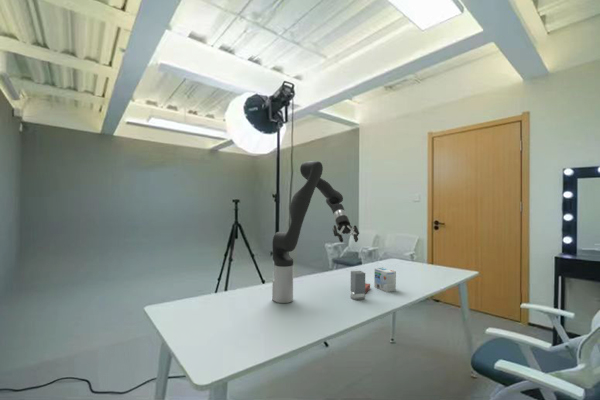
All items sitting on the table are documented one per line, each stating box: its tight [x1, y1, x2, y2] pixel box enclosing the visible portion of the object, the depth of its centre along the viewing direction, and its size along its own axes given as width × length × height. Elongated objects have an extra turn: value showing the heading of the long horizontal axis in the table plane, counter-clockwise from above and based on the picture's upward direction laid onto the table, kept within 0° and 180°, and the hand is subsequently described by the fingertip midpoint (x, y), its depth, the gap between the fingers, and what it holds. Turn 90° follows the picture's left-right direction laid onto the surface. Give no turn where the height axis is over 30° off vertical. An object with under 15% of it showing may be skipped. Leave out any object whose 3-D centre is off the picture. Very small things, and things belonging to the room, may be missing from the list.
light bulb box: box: [373, 267, 397, 293], centre depth 159 cm, size 11×7×11 cm, turn 25°
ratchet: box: [350, 282, 371, 301], centre depth 150 cm, size 23×7×7 cm, turn 153°
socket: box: [350, 270, 366, 294], centre depth 143 cm, size 5×5×10 cm
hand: (349, 241), depth 154 cm, fingers open, 8 cm apart
